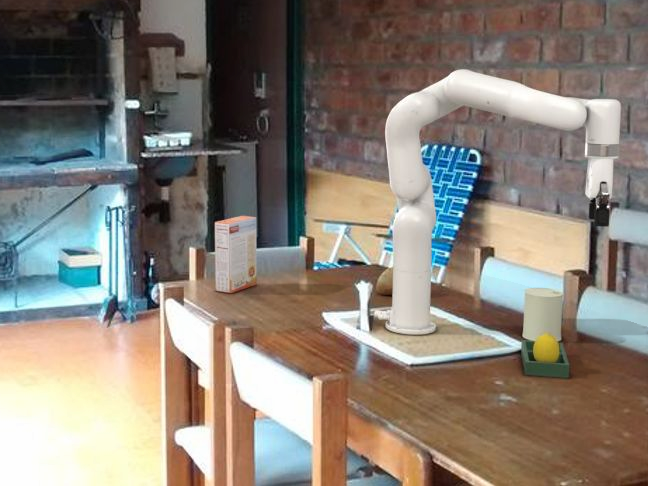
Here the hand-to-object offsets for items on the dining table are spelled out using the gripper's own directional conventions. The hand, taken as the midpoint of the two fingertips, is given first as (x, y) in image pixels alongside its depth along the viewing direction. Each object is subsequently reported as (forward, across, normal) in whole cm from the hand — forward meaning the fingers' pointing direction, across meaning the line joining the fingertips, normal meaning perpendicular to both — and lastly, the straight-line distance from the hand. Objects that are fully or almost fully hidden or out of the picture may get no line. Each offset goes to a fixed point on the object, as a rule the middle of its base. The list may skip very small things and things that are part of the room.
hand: (598, 222), depth 241 cm
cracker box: (+30, -37, -96) cm, 107 cm away
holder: (+30, +20, -13) cm, 38 cm away
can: (+30, -3, -12) cm, 32 cm away
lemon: (+29, +24, -13) cm, 40 cm away
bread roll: (+30, -42, -48) cm, 70 cm away
